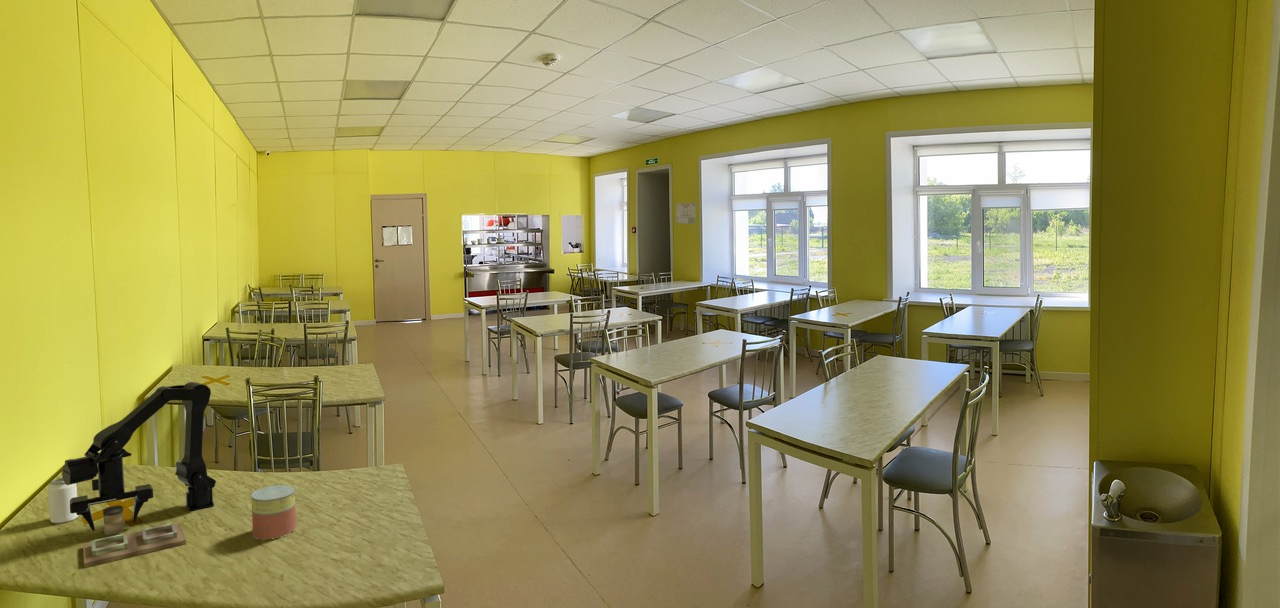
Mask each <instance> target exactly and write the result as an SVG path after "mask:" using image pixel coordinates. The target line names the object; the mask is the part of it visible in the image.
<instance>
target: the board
mask: <svg viewBox="0 0 1280 608" xmlns="http://www.w3.org/2000/svg"><path fill="white" fill-rule="evenodd" d="M183 545H187V539H186V536H185V533H184V530H183V528H182V525H181V523H180V522H175V523H174V522H172V523H168V524H163V525H159V526H154V527H153V526H152V527H150V528H148V527H147V528H145V529H141V530H140V531H136V532H135V531H134V532H130V533H126V532H125V533H119V534H115V535H110V536H107V537H102V538H99V539H94V540H93V539H92V540H91V541H88V542H85V543H83V544H82V546H83V549H82V550H83V565H84V566H83V568H89V567H93V566H97V565H101V564H107V563H110V562H115V561H119V560H123V559H127V558H128V559H129V558H132V557H136V556H140V555H145V554H149V553H153V552H156V551H161V550H166V549H171V548H174V547H178V546H179V547H180V546H183Z"/></svg>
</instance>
